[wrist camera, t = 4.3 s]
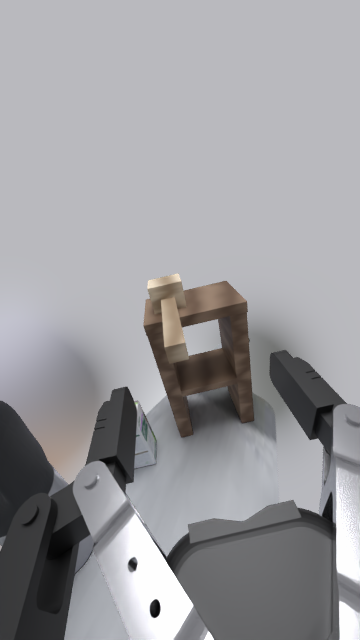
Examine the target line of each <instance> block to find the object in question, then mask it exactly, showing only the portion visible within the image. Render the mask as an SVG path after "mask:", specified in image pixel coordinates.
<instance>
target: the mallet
mask: <svg viewBox="0 0 360 640" xmlns="http://www.w3.org/2000/svg"><path fill="white" fill-rule="evenodd" d="M148 292H149V295H150V299H151V303H152V306H153V309H154V313H155V314H158V313H162V322H163V335H164V348H165V351H166V355H167V358H168V361H169V364H171V363H175V362H179V361H183V360H188V359H189V356H188V352H187V348H186V344H185V339H184V335H183V331H182V326H181V322H180V318H179V313H178V309H180V308H184V307H187V306H186V301H185V296H184V292H183V287H182V282H181V279H180V276H179V274H174V275H170V276H166V277H162V278H157V279H153V280H149V281H148Z"/></svg>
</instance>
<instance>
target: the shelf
mask: <svg viewBox="0 0 360 640" xmlns="http://www.w3.org/2000/svg"><path fill="white" fill-rule="evenodd" d="M183 292H184V296H185V301H186V306H187V307H184V308H180V309H178V313H179V318H180V322H181V326H182V327H185V326H189V325H194V324H198V323H202V322H207V321H211V320H215V319H218V322H219V329H220V336H221V343H222V348H221V349H217V350H212V351H208V352H204V353H200V354H195V355H191V356H189V359H188V360H183V361H179V362H175V363H171V364H169V361H168V358H167V355H166V351H165V348H164V335H163V322H162V313H158V314H155V313H154V309H153V306H152V303H151V299H147V300H146V305H145V315H144V329H145V332H146V335H147V336H148V339H149V342H150V345H151V348H152V351H153V354H154V357H155V360H156V363H157V366H158V369H159V372H160V375H161V378H162V381H163V384H164V387H165V390H166V393H167V396H168V399H169V402H170V405H171V408H172V411H173V414H174V417H175V421H176V424H177V427H178V430H179V433H180V436H181V438H182V437H186V436H191V435H193V430H192V424H191V419H190V413H189V407H188V401H187V397H186V396H188V395H192V394H196V393H200V392H205V391H209V390H213V389H217V388H222V387H226V386H228V391H229V393H230V396H231V398H232V401H233V403H234V405H235V408H236V410H237V413H238V415H239V418H240V420H241V422H242V423H246V422H250V421H254V413H253V398H252V383H251V370H250V356H249V355H250V354H249V339H248V325H247V312H248V311H247V301H246V300H245V299H244V298H243V297H242V296H241V295H240V294H239V293H238V292H237V291H236V290H235V289H234V288H233V287H232V286H231V285H230V284H229V283H228V282H227V281H223V282H219V283H215V284H211V285H206V286H202V287H197V288H193V289H189V290H185V291H183Z"/></svg>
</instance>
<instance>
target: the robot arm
mask: <svg viewBox="0 0 360 640" xmlns="http://www.w3.org/2000/svg"><path fill="white" fill-rule="evenodd" d="M270 378H271V381H272V383H273V385H274V386H275V388H276V389H277V390H278V392H279V393H280V395H281V397H282V398H283V400H284V401H285V403H286V404H287V406H288V407H289V409H290V411H291V412H292V414H293V415H294V417H295V418H296V419H297V421H298V423H299V424H300V426H301V427H302V428H303V430H304V432H305V433H306V435H307V436H308V438H309V439H310V440H312V439H317V438H318V439H319V440H320V442H321V443H322V444H323V446H324V447H323V471H322V492H321V498H320V507H319V514H317V513H314V512H312V511H309V510H305V509H302V508H297V506H296V504H295V502H294V500H291V501H286V502H282V503H278V504H274V505H269V506H267V507H265V508H264V509H262V510H261V511H259V512H258V513H256V514H255V515H253V516H252V517H250V518H249V519H247V520H245V521H232V520H223V519H210V520H205V521H201V522H197V523H193V524H188V528H189V533H188V534H186V535H185V536H184V537H182V538H181V539H180V540H179V541H178V542H177V543H176V545H175V546H174V547H173V549H172V550H171V551H170V553H169V555H168V556H166V554H165V553H164V551H163V550H162V548H161V547H160V545H159V544H158V542H157V540H156V539H155V537H154V536H153V535H152V533H151V532H150V530H149V528H148V527H147V525H146V524H145V522H144V521H143V519H142V518H141V516H140V514H139V513H138V511H137V510H136V508H135V507H134V505H133V503H132V502H131V500H130V499H129V497H128V496H127V494H126V493H125V489H126V484H127V483H132V482H133V480H134V463H135V446H136V429H137V408H136V404H135V402H134V400H133V398H132V395H131V393H130V391H129V389H128V387H123V388H118V389H114V390H113V391H112V394H111V399H110V401H106V402H104V403H103V405H102V407H101V408H100V410H99V412H98V416H97V420H96V421H97V422H96V424H95V428H94V429H95V431H94V432H93V437H92V441H91V445H90V449H89V453H88V457H87V461H86V465H85V467H84V468H83V469H82V470H81V471H80V472H79V473H78V475H77V477H76V479H75V481H73V482H72V483H71V484H70V485H69V484H68V483H67V482H66V481H65V480H64V479H63V478H62V476H61V475H60V474H59V473H58V472H57V471H56V470H55V469H54V467H53V466H52V465H51V464H50V463H49V462H48V461H47V458H46V456H45V453H44V451H43V449H42V447H41V446H40V444H39V443H38V441H37V440H36V439H35V438H34V436H33V435H32V434H31V432H30V431H29V429H28V428H27V426H26V425H25V424H24V422H23V421H22V419H21V418H20V416H19V415H18V414H17V413H16V411H15V410H14V409H13V408H12V407H11V406H9V405H8V404H7V403H5V402H3V401H0V545H1V546H2V549H1V551H0V640H64V636H65V630H66V623H67V617H68V611H69V605H70V599H71V593H72V586H73V580H74V574H75V573H76V572H77V571H78V570H79V569H80V568H81V567H82V566H83V564H84V563H85V562H86V561H87V559H88V557H89V556H90V554H91V552H92V550H94V554H95V556H96V559H97V561H98V564H99V566H100V569H101V571H102V573H103V576H104V578H105V581H106V583H107V585H108V588H109V590H110V593H111V595H112V597H113V600H114V602H115V605H116V607H117V609H118V612H119V614H120V617H121V619H122V621H123V624H124V626H125V629H126V631H127V633H128V636H129V638H130V640H360V407H358V406H355V405H351V404H347V403H346V402H345V401H344V400H343V399H342V398H341V397H340V396H339V395H338V394H337V393H336V392H335V391H334V390H333V389H332V388H331V387H330V386H329V384H327V382H326V381H325V380H324V379H323V378H321V376H320V375H319V374H318V373H317V372H315V370H314V369H313V368H312V367H311V366H310V364H308V363H307V362H306V361H304V360H302V359H300V358H298V357H296V358H293V357H292V356H291V355H290V354H289V353H288V352H287V351H286V350H283V351H279V352H274V353H271V355H270Z"/></svg>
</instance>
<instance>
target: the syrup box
mask: <svg viewBox="0 0 360 640" xmlns="http://www.w3.org/2000/svg"><path fill="white" fill-rule="evenodd" d="M134 402H135V404H136V408H137V429H136V446H135V463H134V469H135V468H140V467H144V466H148V465H153V464H156V438H155V436H154V434H153V432H152V429H151V427H150V425H149V423H148V421H147V418H146V416H145V414H144V412H143V410H142V407H141V405H140V403H139V401H134Z"/></svg>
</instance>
